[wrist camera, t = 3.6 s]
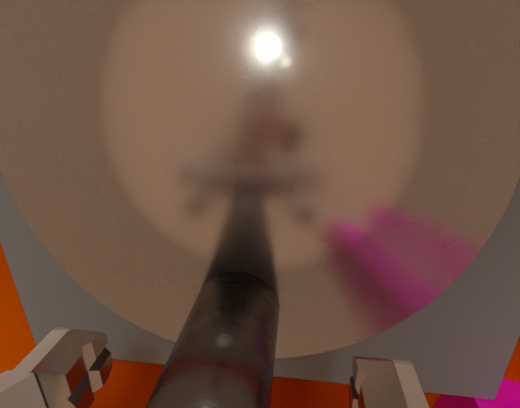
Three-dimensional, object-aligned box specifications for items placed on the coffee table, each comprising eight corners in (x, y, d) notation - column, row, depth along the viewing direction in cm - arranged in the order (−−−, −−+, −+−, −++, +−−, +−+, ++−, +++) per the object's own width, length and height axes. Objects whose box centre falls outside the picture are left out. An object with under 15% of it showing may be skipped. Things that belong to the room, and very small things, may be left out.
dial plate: (-114, -237, 10) (-193, -295, 8) (725, -340, 7) (841, -452, 6) (58, 329, 18) (35, 354, 16) (477, 370, 16) (496, 403, 14)
